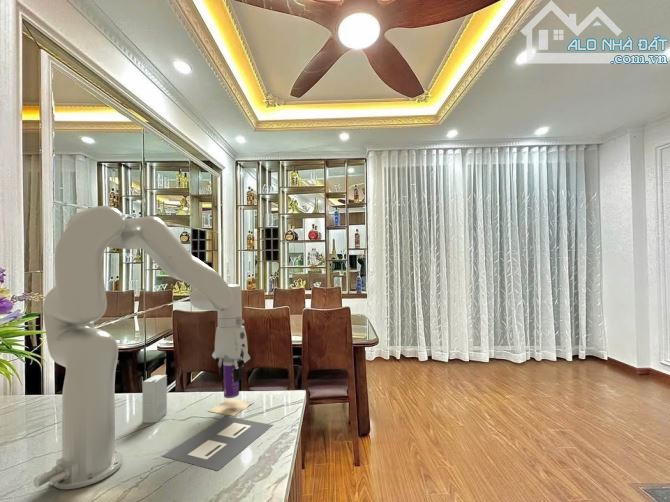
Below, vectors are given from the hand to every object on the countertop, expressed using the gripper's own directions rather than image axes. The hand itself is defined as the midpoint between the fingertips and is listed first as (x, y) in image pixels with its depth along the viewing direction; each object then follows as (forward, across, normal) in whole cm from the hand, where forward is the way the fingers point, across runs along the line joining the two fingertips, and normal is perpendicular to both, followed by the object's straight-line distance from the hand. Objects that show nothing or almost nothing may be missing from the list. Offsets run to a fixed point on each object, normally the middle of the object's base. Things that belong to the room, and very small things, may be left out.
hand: (231, 378), depth 107 cm
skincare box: (+9, +17, +14) cm, 24 cm away
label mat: (+9, -11, +17) cm, 22 cm away
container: (+5, 0, 0) cm, 5 cm away
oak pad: (+9, 0, 0) cm, 9 cm away
